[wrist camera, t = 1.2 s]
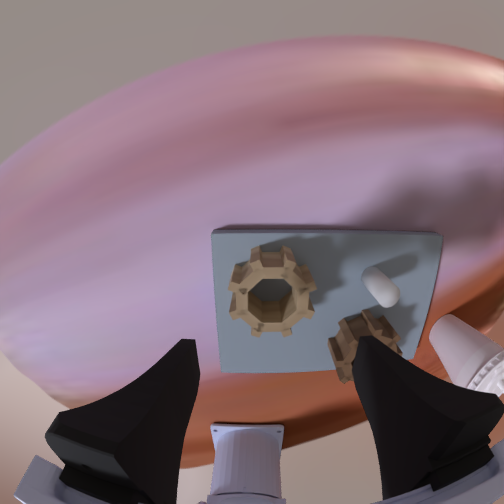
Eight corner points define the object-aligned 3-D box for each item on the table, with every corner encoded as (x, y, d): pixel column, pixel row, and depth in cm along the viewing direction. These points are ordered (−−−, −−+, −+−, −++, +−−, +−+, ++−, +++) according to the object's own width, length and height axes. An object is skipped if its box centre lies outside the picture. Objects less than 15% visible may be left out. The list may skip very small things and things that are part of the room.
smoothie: (473, 312, 22) (552, 386, 8) (441, 360, 23) (502, 446, 10) (443, 293, 21) (538, 381, 8) (407, 348, 23) (474, 454, 9)
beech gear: (305, 314, 20) (312, 336, 17) (233, 315, 20) (230, 337, 17) (310, 245, 19) (319, 259, 16) (231, 245, 19) (226, 259, 16)
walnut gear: (391, 348, 21) (404, 368, 18) (336, 371, 22) (344, 394, 19) (382, 300, 20) (398, 319, 17) (321, 326, 20) (329, 349, 18)
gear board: (408, 351, 23) (428, 381, 18) (222, 363, 23) (216, 401, 19) (435, 232, 19) (469, 248, 15) (213, 229, 20) (201, 248, 15)
